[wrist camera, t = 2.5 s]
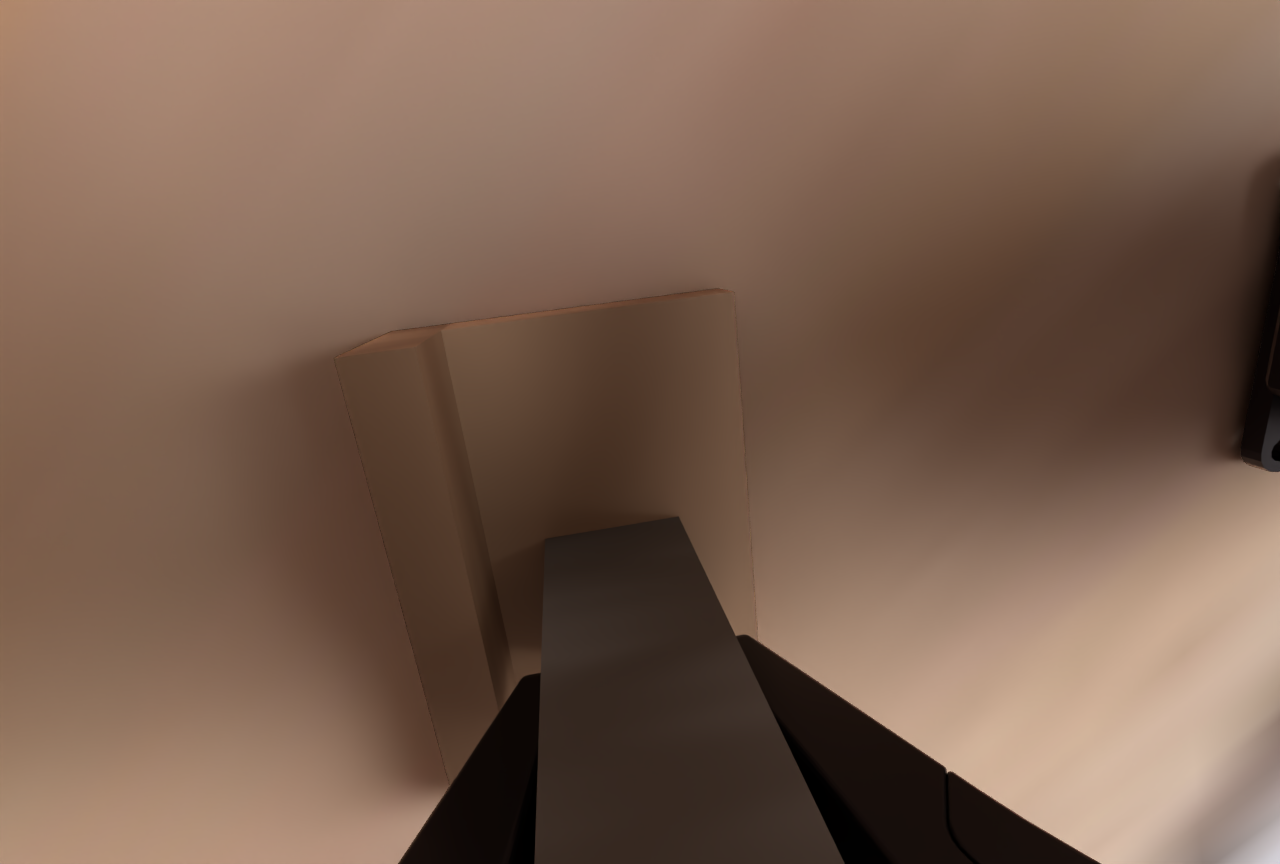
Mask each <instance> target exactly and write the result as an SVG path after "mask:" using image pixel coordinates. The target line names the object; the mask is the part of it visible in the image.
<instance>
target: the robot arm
mask: <svg viewBox="0 0 1280 864" xmlns="http://www.w3.org/2000/svg"><path fill="white" fill-rule="evenodd" d="M1241 457H1242V459H1243V461H1244V462H1245V463H1246V464H1248V465H1250V466H1253V467H1256V468H1260V469H1263V470H1266V471H1270V472H1280V248H1279V253H1278V258H1277V263H1276V268H1275V273H1274V279H1273V284H1272V289H1271V294H1270V299H1269V304H1268V310H1267V315H1266V320H1265V325H1264V330H1263V335H1262V341H1261V346H1260V351H1259V356H1258V361H1257V366H1256V371H1255V377H1254V382H1253V387H1252V392H1251V397H1250V402H1249V408H1248V413H1247V418H1246V423H1245V428H1244V433H1243V439H1242V444H1241ZM736 637H737V640H738V642H739V644H740V646H741V648H742V650H743V652H744V654H745V656H746V658H747V660H748V663H749V665H750V667H751V669H752V671H753V673H754V675H755V677H756V679H757V681H758V683H759V686H760V688H761V690H762V692H763V694H764V696H765V698H766V700H767V702H768V704H769V707H770V709H771V711H772V713H773V715H774V717H775V719H776V721H777V723H778V725H779V727H780V730H781V732H782V734H783V736H784V738H785V740H786V742H787V744H788V746H789V748H790V750H791V753H792V755H793V757H794V759H795V761H796V763H797V765H798V767H799V769H800V771H801V773H802V776H803V778H804V780H805V782H806V784H807V786H808V788H809V790H810V792H811V794H812V797H813V799H814V801H815V803H816V805H817V807H818V809H819V811H820V813H821V815H822V817H823V820H824V822H825V824H826V826H827V828H828V830H829V832H830V834H831V836H832V838H833V840H834V843H835V845H836V847H837V849H838V851H839V853H840V855H841V857H842V859H843V861H844V864H1101V863H1099V862H1097V861H1096V860H1094V859H1092V858H1090V857H1089V856H1087V855H1085V854H1083V853H1082V852H1080V851H1078V850H1076V849H1075V848H1073V847H1071V846H1070V845H1068V844H1066V843H1065V842H1063V841H1061V840H1060V839H1058V838H1056V837H1054V836H1053V835H1051V834H1049V833H1048V832H1046V831H1044V830H1043V829H1041V828H1039V827H1037V826H1036V825H1034V824H1032V823H1031V822H1029V821H1027V820H1026V819H1024V818H1023V817H1021V816H1019V815H1018V814H1016V813H1015V812H1013V811H1012V810H1010V809H1009V808H1007V807H1005V806H1004V805H1002V804H1001V803H999V802H998V801H996V800H994V799H993V798H991V797H990V796H988V795H987V794H985V793H984V792H982V791H980V790H979V789H977V788H976V787H974V786H973V785H972V784H970V783H969V782H967V781H966V780H964V779H963V778H961V777H960V776H958V775H957V774H955V773H954V772H951V771H950V772H948V773H947V770H946V768H945V767H944V766H943V765H941V764H940V763H938V762H937V761H935V760H934V759H932V758H931V757H929V756H928V755H926V754H925V753H923V752H922V751H920V750H919V749H917V748H916V747H914V746H913V745H912V744H910V743H909V742H907V741H906V740H904V739H903V738H901V737H900V736H898V735H897V734H895V733H894V732H892V731H891V730H889V729H888V728H886V727H885V726H883V725H882V724H880V723H879V722H877V721H876V720H874V719H873V718H871V717H870V716H868V715H867V714H865V713H864V712H862V711H861V710H859V709H858V708H856V707H855V706H853V705H852V704H850V703H849V702H847V701H846V700H844V699H843V698H842V697H840V696H839V695H837V694H836V693H834V692H833V691H831V690H830V689H828V688H827V687H825V686H824V685H822V684H821V683H819V682H818V681H816V680H815V679H813V678H812V677H810V676H809V675H807V674H806V673H804V672H803V671H801V670H800V669H798V668H797V667H795V666H794V665H792V664H791V663H789V662H788V661H786V660H785V659H783V658H782V657H780V656H779V655H777V654H776V653H774V652H773V651H772V650H770V649H769V648H767V647H766V646H764V645H763V644H761V643H760V642H758V641H757V640H755V639H754V638H752V637H751V636H749V635H746V634H743V635H737V636H736ZM540 679H541V673H536V674H531V675H526V676H524V677H523V678H521V680H520V681H519V683H518V684H517V686H516V687H515V689H514V690H513V692H512V693H511V695H510V696H509V698H508V699H507V701H506V702H505V704H504V705H503V707H502V708H501V710H500V711H499V713H498V714H497V716H496V717H495V719H494V720H493V722H492V723H491V725H490V726H489V728H488V729H487V731H486V732H485V734H484V735H483V737H482V738H481V740H480V741H479V743H478V744H477V746H476V747H475V749H474V750H473V752H472V753H471V755H470V756H469V758H468V759H467V761H466V762H465V764H464V765H463V767H462V768H461V770H460V771H459V773H458V774H457V776H456V777H455V779H454V780H453V782H452V783H451V785H450V786H449V788H448V789H447V791H446V792H445V794H444V796H443V797H442V799H441V800H440V802H439V803H438V805H437V806H436V808H435V809H434V811H433V812H432V814H431V815H430V817H429V818H428V820H427V821H426V823H425V824H424V826H423V827H422V829H421V830H420V832H419V833H418V835H417V836H416V838H415V839H414V841H413V842H412V844H411V845H410V847H409V848H408V850H407V851H406V853H405V854H404V856H403V857H402V859H401V860H400V862H399V863H398V864H535V833H536V802H537V771H538V741H539V710H540Z"/></svg>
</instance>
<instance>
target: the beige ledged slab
mask: <svg viewBox="0 0 1280 864" xmlns="http://www.w3.org/2000/svg"><path fill="white" fill-rule="evenodd" d="M334 361H335V365H336V369H337V372H338V376H339V380H340V383H341V387H342V391H343V394H344V398H345V402H346V406H347V409H348V413H349V417H350V420H351V424H352V428H353V431H354V435H355V439H356V442H357V446H358V450H359V453H360V457H361V461H362V464H363V468H364V472H365V476H366V479H367V483H368V487H369V490H370V494H371V498H372V501H373V505H374V509H375V512H376V516H377V520H378V523H379V527H380V531H381V534H382V538H383V542H384V546H385V549H386V553H387V557H388V560H389V564H390V568H391V571H392V575H393V579H394V582H395V586H396V590H397V593H398V597H399V601H400V604H401V608H402V612H403V616H404V619H405V623H406V627H407V630H408V634H409V638H410V641H411V645H412V649H413V652H414V656H415V660H416V663H417V667H418V671H419V674H420V678H421V682H422V686H423V689H424V693H425V697H426V700H427V704H428V708H429V711H430V715H431V719H432V722H433V726H434V730H435V733H436V737H437V741H438V744H439V748H440V752H441V756H442V759H443V763H444V767H445V770H446V774H447V778H448V781H449V785H451V783H452V782H453V780H454V779H455V777H456V776H457V774H458V773H459V771H460V770H461V768H462V767H463V765H464V764H465V762H466V761H467V759H468V758H469V756H470V755H471V753H472V752H473V750H474V749H475V747H476V746H477V744H478V743H479V741H480V740H481V738H482V737H483V735H484V734H485V732H486V731H487V729H488V728H489V726H490V725H491V723H492V722H493V720H494V719H495V717H496V716H497V714H498V713H499V711H500V710H501V708H502V707H503V705H504V704H505V702H506V701H507V699H508V698H509V696H510V695H511V693H512V692H513V690H514V689H515V687H516V686H517V684H518V683H519V681H520V680H521V678H523V677H524V676H526V675H531V674H536V673H541V679H540V710H539V741H538V771H537V802H536V833H535V864H844V861H843V859H842V857H841V855H840V853H839V851H838V849H837V847H836V845H835V843H834V840H833V838H832V836H831V834H830V832H829V830H828V828H827V826H826V824H825V822H824V820H823V817H822V815H821V813H820V811H819V809H818V807H817V805H816V803H815V801H814V799H813V797H812V794H811V792H810V790H809V788H808V786H807V784H806V782H805V780H804V778H803V776H802V773H801V771H800V769H799V767H798V765H797V763H796V761H795V759H794V757H793V755H792V753H791V750H790V748H789V746H788V744H787V742H786V740H785V738H784V736H783V734H782V732H781V730H780V727H779V725H778V723H777V721H776V719H775V717H774V715H773V713H772V711H771V709H770V707H769V704H768V702H767V700H766V698H765V696H764V694H763V692H762V690H761V688H760V686H759V683H758V681H757V679H756V677H755V675H754V673H753V671H752V669H751V667H750V665H749V663H748V660H747V658H746V656H745V654H744V652H743V650H742V648H741V646H740V644H739V642H738V640H737V637H736V636H737V635H743V634H746V635H749V636H751V637H752V638H754V639H755V640H757V641H758V635H757V620H756V605H755V591H754V576H753V561H752V547H751V532H750V517H749V503H748V488H747V473H746V458H745V444H744V429H743V414H742V400H741V385H740V370H739V355H738V341H737V326H736V311H735V297H734V292H733V291H728V290H723V289H711V290H703V291H695V292H688V293H680V294H672V295H665V296H657V297H650V298H642V299H634V300H627V301H619V302H611V303H604V304H596V305H588V306H581V307H573V308H565V309H558V310H550V311H543V312H535V313H527V314H520V315H512V316H504V317H497V318H489V319H481V320H474V321H466V322H458V323H451V324H443V325H436V326H428V327H420V328H413V329H405V330H397V331H391V332H389V333H387V334H385V335H382V336H380V337H378V338H376V339H374V340H372V341H369V342H367V343H365V344H363V345H361V346H359V347H356V348H354V349H352V350H350V351H348V352H346V353H343V354H341V355H339V356H337V357H335V358H334Z"/></svg>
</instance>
